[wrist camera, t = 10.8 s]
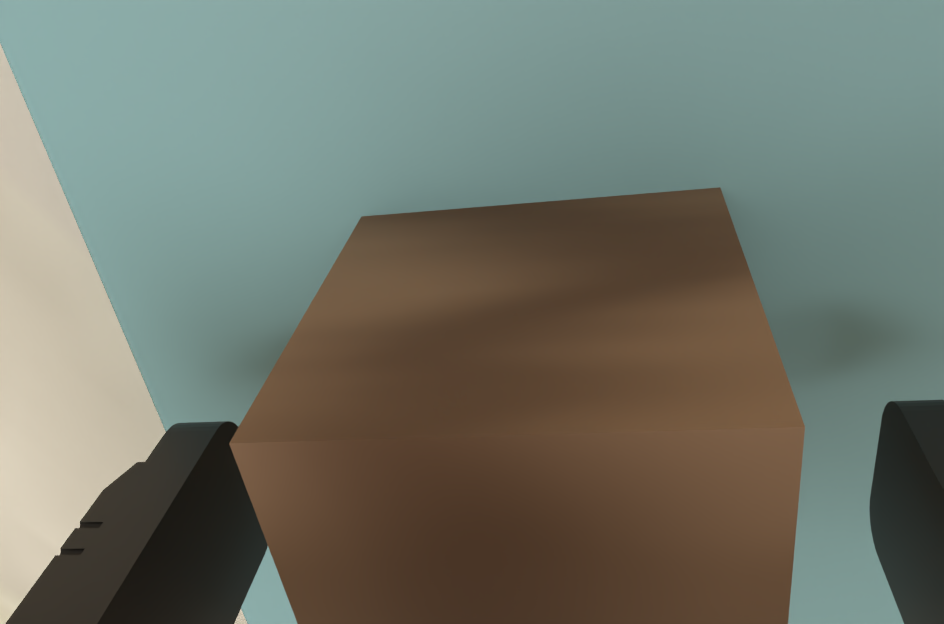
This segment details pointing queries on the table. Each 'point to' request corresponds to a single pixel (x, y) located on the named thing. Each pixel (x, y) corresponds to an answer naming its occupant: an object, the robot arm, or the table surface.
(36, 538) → the table surface
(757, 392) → the walnut cube
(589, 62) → the teal board
